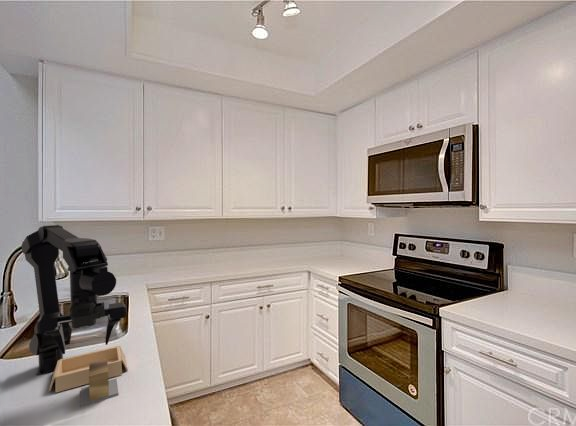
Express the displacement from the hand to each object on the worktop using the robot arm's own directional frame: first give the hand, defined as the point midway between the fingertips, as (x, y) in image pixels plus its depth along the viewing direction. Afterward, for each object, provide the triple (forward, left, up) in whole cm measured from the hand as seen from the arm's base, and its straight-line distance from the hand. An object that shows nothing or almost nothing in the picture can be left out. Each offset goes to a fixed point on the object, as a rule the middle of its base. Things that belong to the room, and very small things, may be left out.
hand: (85, 348), depth 81 cm
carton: (-9, +1, -11) cm, 14 cm away
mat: (+4, +3, -11) cm, 12 cm away
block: (+4, +3, -10) cm, 11 cm away
